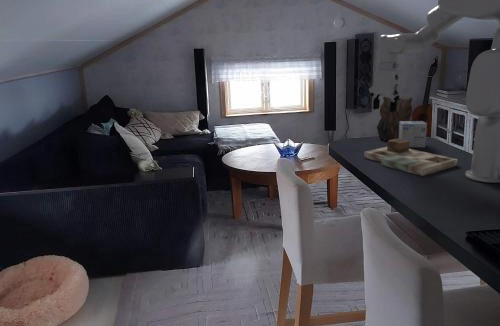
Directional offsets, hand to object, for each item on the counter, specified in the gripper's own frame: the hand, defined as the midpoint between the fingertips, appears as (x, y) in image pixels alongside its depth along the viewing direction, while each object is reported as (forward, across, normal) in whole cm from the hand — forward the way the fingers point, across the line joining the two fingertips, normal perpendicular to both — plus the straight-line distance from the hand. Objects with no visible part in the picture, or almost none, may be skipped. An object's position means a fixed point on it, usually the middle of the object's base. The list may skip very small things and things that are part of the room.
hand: (384, 110), depth 180 cm
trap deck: (+18, -16, +4) cm, 24 cm away
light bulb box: (+18, 0, -20) cm, 27 cm away
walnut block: (+16, -8, 0) cm, 17 cm away
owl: (+18, +13, -24) cm, 33 cm away
